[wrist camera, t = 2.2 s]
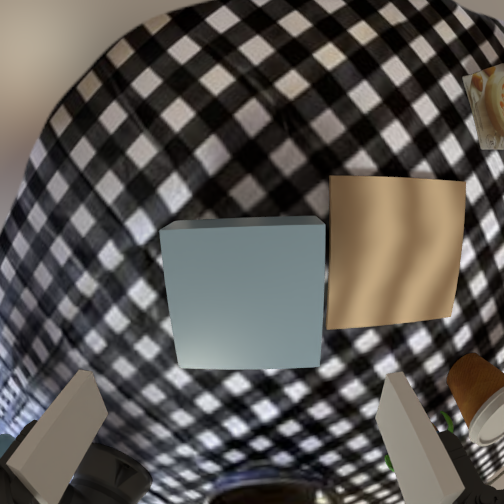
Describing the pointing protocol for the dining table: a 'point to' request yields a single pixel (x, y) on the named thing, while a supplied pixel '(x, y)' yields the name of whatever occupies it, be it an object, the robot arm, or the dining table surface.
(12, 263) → the dining table surface
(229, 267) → the lid
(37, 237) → the dining table surface
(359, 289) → the cork mat
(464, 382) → the disposable coffee cup
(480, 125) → the coffee box
